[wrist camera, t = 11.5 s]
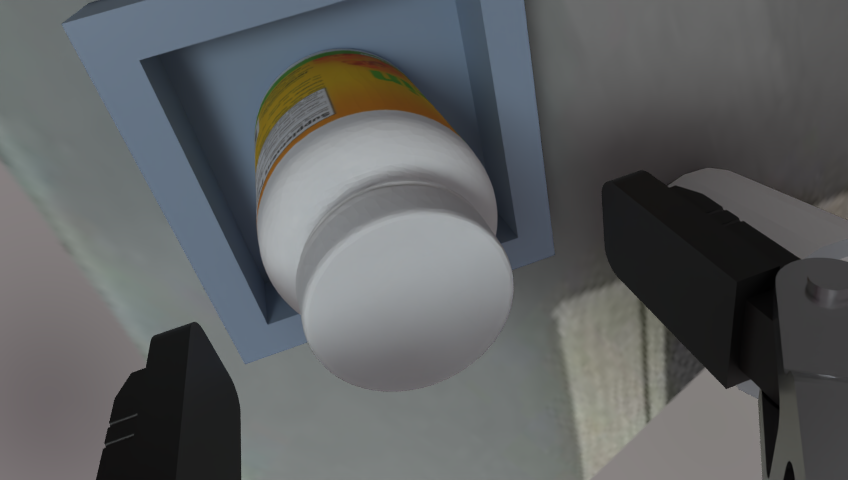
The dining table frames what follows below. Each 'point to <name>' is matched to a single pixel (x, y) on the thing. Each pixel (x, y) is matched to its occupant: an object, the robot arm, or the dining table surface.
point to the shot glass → (772, 219)
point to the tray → (242, 95)
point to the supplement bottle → (377, 223)
